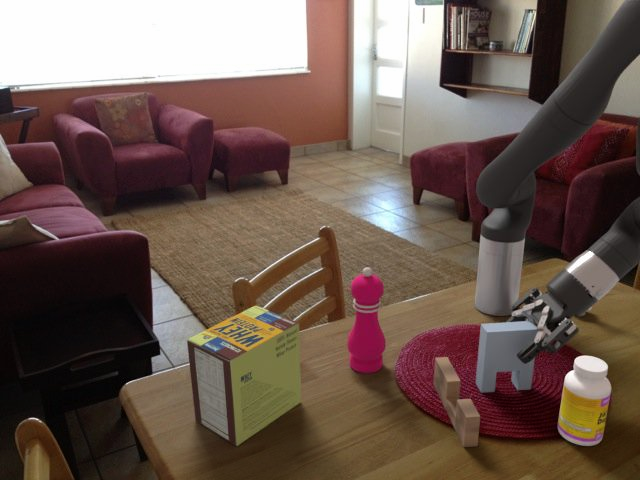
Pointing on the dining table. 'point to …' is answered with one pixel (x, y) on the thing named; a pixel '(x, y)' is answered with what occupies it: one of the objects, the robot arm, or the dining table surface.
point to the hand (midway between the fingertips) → (510, 347)
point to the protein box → (245, 373)
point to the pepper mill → (366, 324)
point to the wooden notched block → (456, 403)
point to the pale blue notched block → (504, 354)
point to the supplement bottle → (585, 402)
